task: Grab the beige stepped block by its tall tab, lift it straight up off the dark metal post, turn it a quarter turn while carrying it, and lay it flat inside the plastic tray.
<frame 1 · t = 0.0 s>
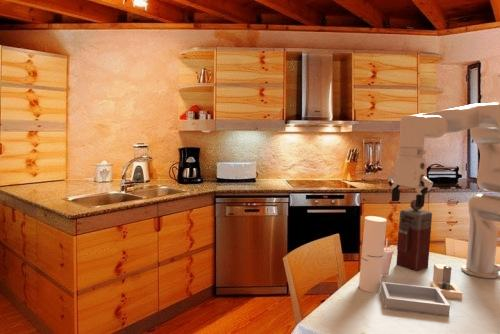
hand: (407, 203, 124), 31 cm above the table, tool pointing down, fingers open, 9 cm apart
tray: (412, 303, 119), on the table
smoothie: (383, 274, 144), on the table
cylindrical container: (369, 288, 130), on the table
post: (445, 292, 128), on the table
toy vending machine: (410, 267, 152), on the table
beige stepped block: (445, 292, 128), on the table
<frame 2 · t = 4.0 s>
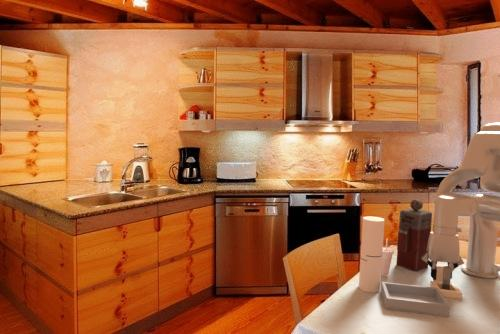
hand: (440, 279, 134), 2 cm above the table, tool pointing down, fingers closed on beige stepped block, 4 cm apart
beige stepped block: (445, 292, 128), on the table, touching gripper
everything else where it was.
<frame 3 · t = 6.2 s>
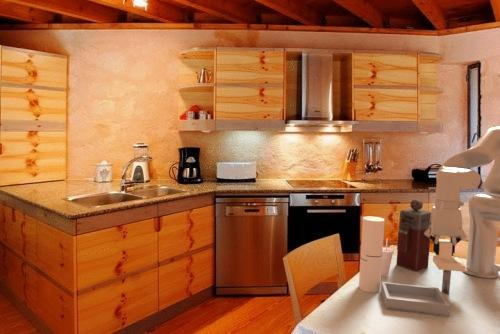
hand: (443, 253, 133), 12 cm above the table, tool pointing down, fingers closed on beige stepped block, 4 cm apart
beige stepped block: (448, 266, 127), point 9 cm above the table, touching gripper
everything else where it was.
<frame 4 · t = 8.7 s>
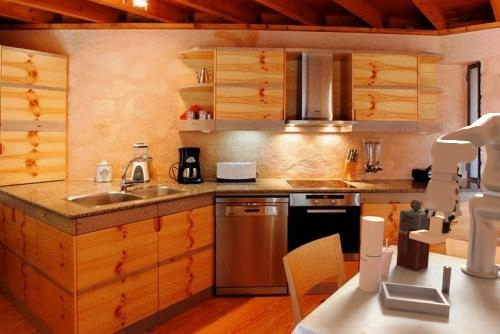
hand: (438, 230, 125), 22 cm above the table, tool pointing down, fingers closed on beige stepped block, 4 cm apart
beige stepped block: (427, 239, 122), point 20 cm above the table, touching gripper
everything else where it was.
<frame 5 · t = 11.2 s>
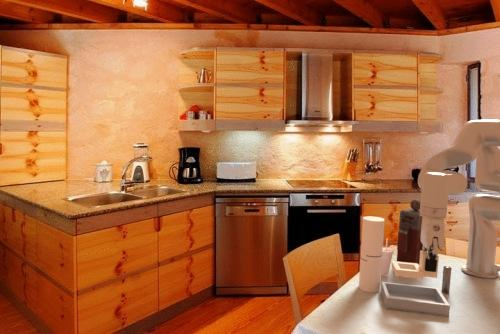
hand: (428, 267, 117), 12 cm above the table, tool pointing down, fingers closed on beige stepped block, 4 cm apart
beige stepped block: (406, 272, 119), point 10 cm above the table, touching gripper
everything else where it was.
when the fingers open (5 cm above the table, at t = 13.3 s): beige stepped block drops 2 cm, resting on tray.
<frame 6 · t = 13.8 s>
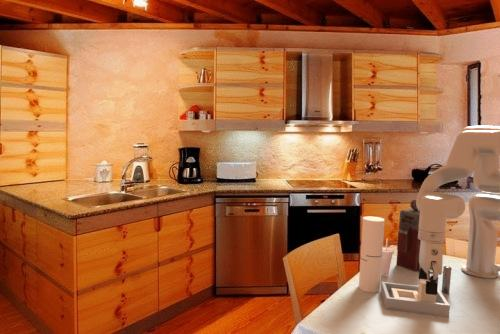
hand: (427, 287, 118), 6 cm above the table, tool pointing down, fingers open, 9 cm apart
beige stepped block: (405, 300, 120), point 1 cm above the table, touching tray
everything else where it was.
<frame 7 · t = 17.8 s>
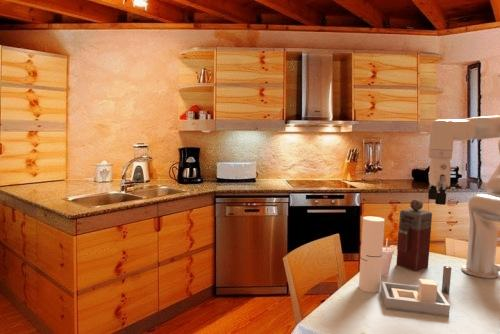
hand: (436, 201, 134), 30 cm above the table, tool pointing down, fingers open, 9 cm apart
nothing on the table moved.
at the end: beige stepped block inside the target area on the tray (0.4 cm from its centre), point 0.6 cm above the tray's base; beige stepped block tilted 0°; the gripper is holding nothing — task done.
